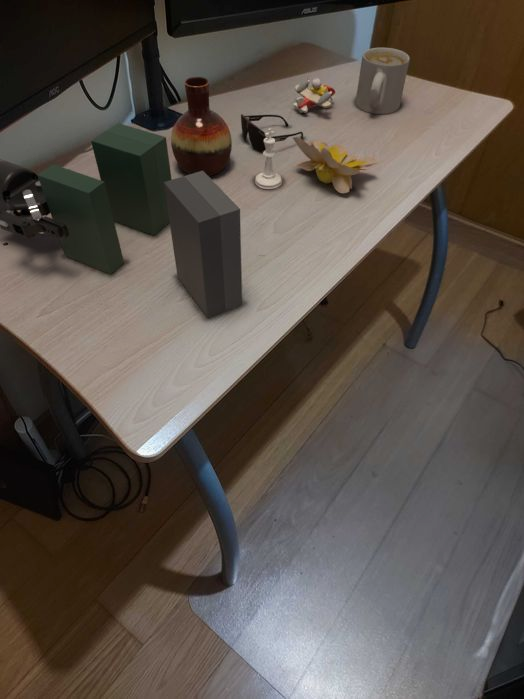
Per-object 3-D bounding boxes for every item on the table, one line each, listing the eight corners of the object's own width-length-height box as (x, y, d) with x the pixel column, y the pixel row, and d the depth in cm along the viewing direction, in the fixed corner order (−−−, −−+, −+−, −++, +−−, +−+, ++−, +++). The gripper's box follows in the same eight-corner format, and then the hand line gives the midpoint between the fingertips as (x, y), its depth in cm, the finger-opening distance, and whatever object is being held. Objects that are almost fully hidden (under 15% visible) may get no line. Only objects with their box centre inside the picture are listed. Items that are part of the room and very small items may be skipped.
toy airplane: (334, 102, 117) (338, 72, 112) (329, 120, 111) (333, 90, 106) (294, 98, 118) (296, 68, 113) (288, 116, 112) (289, 85, 107)
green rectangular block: (154, 236, 84) (140, 155, 74) (110, 220, 87) (90, 140, 76) (176, 216, 88) (166, 136, 77) (134, 201, 91) (118, 122, 80)
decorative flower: (393, 176, 93) (392, 126, 85) (348, 210, 91) (342, 162, 83) (335, 149, 102) (330, 101, 94) (293, 179, 99) (283, 132, 91)
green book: (111, 274, 78) (88, 193, 67) (65, 256, 80) (36, 174, 70) (124, 262, 80) (104, 181, 69) (79, 245, 82) (53, 164, 72)
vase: (165, 159, 100) (154, 75, 88) (218, 146, 103) (213, 64, 92) (187, 187, 94) (177, 100, 82) (242, 173, 97) (240, 88, 85)
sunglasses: (232, 134, 106) (234, 109, 103) (281, 128, 112) (284, 104, 108) (258, 157, 101) (261, 131, 97) (308, 150, 106) (312, 125, 102)
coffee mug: (366, 90, 121) (373, 44, 114) (406, 101, 118) (416, 53, 110) (341, 112, 114) (348, 64, 106) (383, 124, 111) (393, 75, 103)
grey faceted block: (207, 318, 72) (198, 222, 60) (177, 277, 78) (163, 181, 66) (242, 304, 74) (240, 208, 62) (210, 265, 80) (202, 170, 67)
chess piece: (249, 180, 95) (249, 127, 88) (270, 172, 97) (272, 119, 90) (265, 192, 93) (266, 138, 85) (287, 183, 95) (290, 130, 87)
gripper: (-48, 186, 72) (41, 220, 67) (28, 142, 80) (112, 169, 75) (-26, 231, 77) (57, 265, 72) (43, 185, 86) (122, 213, 81)
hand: (85, 216), depth 74 cm, fingers open, 7 cm apart
